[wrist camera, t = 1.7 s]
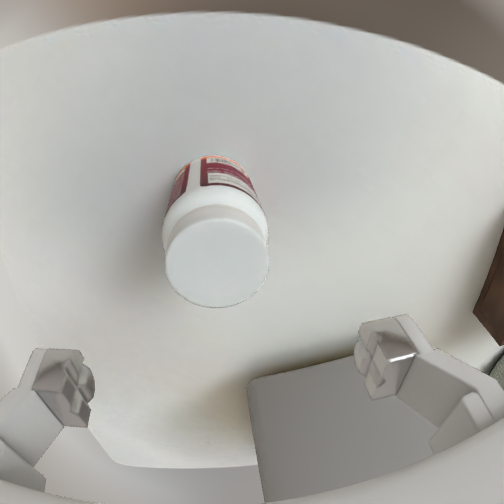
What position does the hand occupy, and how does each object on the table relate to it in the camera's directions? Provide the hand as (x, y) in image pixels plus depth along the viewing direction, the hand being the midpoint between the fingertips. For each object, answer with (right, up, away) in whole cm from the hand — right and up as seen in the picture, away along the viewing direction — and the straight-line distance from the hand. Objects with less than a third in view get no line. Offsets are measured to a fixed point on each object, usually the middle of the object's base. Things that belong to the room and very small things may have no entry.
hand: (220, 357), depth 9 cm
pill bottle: (-1, +7, +11) cm, 13 cm away
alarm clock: (+9, -13, +24) cm, 29 cm away
